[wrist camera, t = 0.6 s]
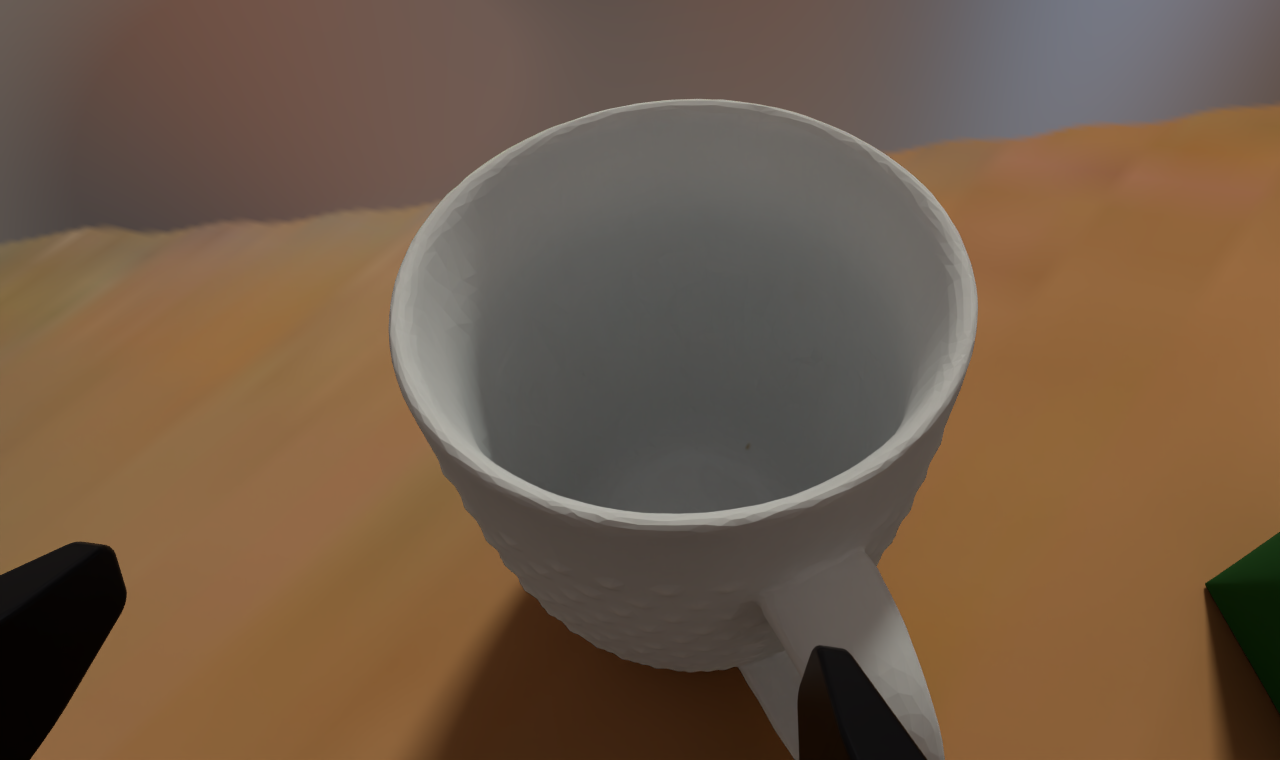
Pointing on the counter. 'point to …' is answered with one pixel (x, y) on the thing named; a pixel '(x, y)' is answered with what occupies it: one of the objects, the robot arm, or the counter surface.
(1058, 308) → the counter surface
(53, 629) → the robot arm
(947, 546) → the counter surface
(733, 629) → the mug
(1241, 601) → the milk carton
